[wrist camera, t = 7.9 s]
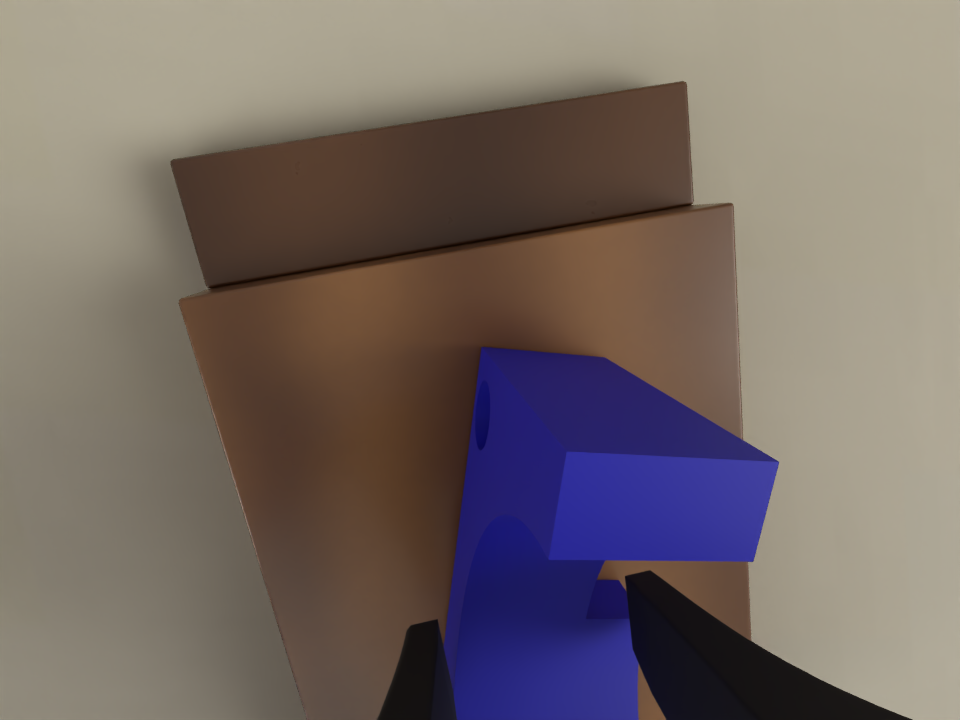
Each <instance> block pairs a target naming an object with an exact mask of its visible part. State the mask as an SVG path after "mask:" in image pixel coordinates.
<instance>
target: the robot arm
mask: <svg viewBox="0 0 960 720" xmlns="http://www.w3.org/2000/svg"><path fill="white" fill-rule="evenodd" d="M625 583H626V592H627V602H628V611H629V620H630V629H631V638H632V648H633V651H634V654H635V656H636V658H637V661H638V663H639V665H640V668H641V670H642V673H643V675H644V677H645V679H646V682H647V684H648V686H649V688H650V691H651V693H652V695H653V697H654V698H655V700H656V702H657V704H658V706H659V707H660V709H661V711H662V713H663V715H664V716H665V718H666V720H912V719H909V718H907V717H904V716H902V715H899V714H897V713H894V712H892V711H889V710H887V709H884V708H882V707H879V706H877V705H875V704H872V703H870V702H868V701H866V700H863V699H861V698H859V697H857V696H854V695H852V694H850V693H848V692H845V691H843V690H841V689H839V688H837V687H834V686H832V685H830V684H828V683H826V682H824V681H822V680H820V679H818V678H816V677H814V676H812V675H810V674H808V673H807V672H805V671H803V670H801V669H799V668H797V667H795V666H793V665H791V664H789V663H787V662H786V661H784V660H782V659H780V658H779V657H777V656H775V655H773V654H772V653H770V652H768V651H767V650H765V649H763V648H762V647H760V646H758V645H757V644H755V643H753V642H752V641H750V640H749V639H747V638H745V637H744V636H742V635H741V634H739V633H738V632H736V631H734V630H733V629H731V628H730V627H729V626H727V625H726V624H724V623H723V622H721V621H720V620H718V619H717V618H715V617H714V616H712V615H711V614H710V613H708V612H707V611H705V610H704V609H702V608H701V607H700V606H698V605H697V604H696V603H694V602H693V601H691V600H690V599H689V598H687V597H686V596H685V595H683V594H682V593H681V592H679V591H678V590H677V589H675V588H674V587H673V586H671V585H670V584H669V583H667V582H666V581H665V580H663V579H662V578H661V577H659V576H658V575H656V574H655V573H654V572H652V571H651V570H648V571H644V572H640V573H635V574H631V575H626V576H625ZM377 720H457V716H456V708H455V700H454V693H453V688H452V683H451V679H450V674H449V670H448V665H447V660H446V656H445V651H444V646H443V642H442V637H441V633H440V628H439V623H438V619H436V620H431V621H427V622H422V623H418V624H414V625H410V627H409V628H408V629H407V631H406V635H405V640H404V644H403V647H402V651H401V655H400V658H399V661H398V664H397V667H396V670H395V673H394V676H393V679H392V682H391V685H390V687H389V690H388V693H387V695H386V698H385V701H384V703H383V706H382V709H381V711H380V713H379V716H378V718H377Z"/></svg>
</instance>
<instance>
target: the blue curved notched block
mask: <svg viewBox="0 0 960 720" xmlns="http://www.w3.org/2000/svg"><path fill="white" fill-rule="evenodd" d="M778 464H779V462H778V461H777V460H775V459H773V458H772V457H770V456H768V455H767V454H765V453H763V452H762V451H760V450H758V449H757V448H755V447H753V446H752V445H750V444H748V443H747V442H745V441H743V440H742V439H740V438H738V437H737V436H735V435H733V434H732V433H730V432H728V431H727V430H725V429H723V428H722V427H720V426H718V425H717V424H715V423H713V422H712V421H710V420H708V419H707V418H705V417H703V416H702V415H700V414H698V413H697V412H695V411H693V410H692V409H690V408H688V407H687V406H685V405H683V404H682V403H680V402H678V401H677V400H675V399H673V398H672V397H670V396H668V395H667V394H665V393H663V392H662V391H660V390H658V389H657V388H655V387H653V386H652V385H650V384H648V383H647V382H645V381H643V380H642V379H640V378H638V377H637V376H635V375H633V374H632V373H630V372H628V371H627V370H625V369H623V368H622V367H620V366H618V365H617V364H615V363H613V362H612V361H610V360H608V359H607V358H605V357H595V356H583V355H572V354H560V353H548V352H537V351H525V350H513V349H502V348H490V347H481V355H480V362H479V370H478V378H477V386H476V394H475V402H474V410H473V418H472V426H471V434H470V442H469V450H468V458H467V466H466V473H465V481H464V489H463V497H462V505H461V513H460V521H459V529H458V537H457V545H456V553H455V561H454V569H453V577H452V585H451V592H450V600H449V608H448V616H447V624H446V632H445V640H444V651H445V656H446V660H447V665H448V670H449V674H450V679H451V683H452V688H453V693H454V700H455V708H456V716H457V720H639V718H638V661H637V658H636V656H635V654H634V651H633V648H632V638H631V629H630V620H629V611H628V602H627V592H626V590H625V589H624V587H623V586H622V584H621V583H620V581H619V580H597V578H598V575H599V573H600V571H601V568H602V566H603V564H604V562H605V560H619V561H735V562H753V561H754V557H755V553H756V549H757V545H758V542H759V538H760V534H761V530H762V526H763V522H764V518H765V515H766V511H767V507H768V503H769V499H770V495H771V491H772V488H773V484H774V480H775V476H776V472H777V468H778Z"/></svg>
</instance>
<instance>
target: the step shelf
mask: <svg viewBox="0 0 960 720" xmlns="http://www.w3.org/2000/svg"><path fill="white" fill-rule="evenodd" d="M171 167H172V171H173V174H174V178H175V181H176V185H177V188H178V191H179V195H180V198H181V202H182V205H183V208H184V212H185V215H186V219H187V222H188V226H189V229H190V232H191V236H192V239H193V243H194V246H195V249H196V253H197V256H198V260H199V263H200V267H201V270H202V273H203V277H204V280H205V284H206V286H207V287H208V288H211V289H208V290H205V291H202V292H199V293H196V294H193V295H190V296H187V297H184V298H181V299H180V300H179V306H180V309H181V312H182V315H183V319H184V322H185V325H186V328H187V332H188V335H189V338H190V341H191V345H192V348H193V351H194V354H195V358H196V361H197V364H198V367H199V371H200V374H201V377H202V380H203V384H204V387H205V390H206V393H207V397H208V400H209V403H210V406H211V410H212V413H213V416H214V419H215V422H216V426H217V429H218V432H219V435H220V439H221V442H222V445H223V448H224V452H225V455H226V458H227V461H228V465H229V468H230V471H231V474H232V478H233V481H234V484H235V487H236V491H237V494H238V497H239V500H240V504H241V507H242V510H243V513H244V517H245V520H246V523H247V526H248V530H249V533H250V536H251V539H252V543H253V546H254V549H255V552H256V556H257V559H258V562H259V565H260V569H261V572H262V575H263V578H264V582H265V585H266V588H267V591H268V595H269V598H270V601H271V604H272V607H273V611H274V614H275V617H276V620H277V624H278V627H279V630H280V633H281V637H282V640H283V643H284V646H285V650H286V653H287V656H288V659H289V663H290V666H291V669H292V672H293V676H294V679H295V682H296V685H297V689H298V692H299V695H300V698H301V702H302V705H303V708H304V711H305V715H306V718H307V720H377V718H378V716H379V713H380V711H381V709H382V706H383V703H384V701H385V698H386V695H387V693H388V690H389V687H390V685H391V682H392V679H393V676H394V673H395V670H396V667H397V664H398V661H399V658H400V655H401V651H402V647H403V644H404V640H405V635H406V631H407V629H408V628H409V627H410V625H414V624H418V623H422V622H427V621H431V620H436V619H438V623H439V628H440V633H441V637H442V642H443V646H444V640H445V632H446V624H447V616H448V608H449V600H450V592H451V585H452V577H453V569H454V561H455V553H456V545H457V537H458V529H459V521H460V513H461V505H462V497H463V489H464V481H465V473H466V466H467V458H468V450H469V442H470V434H471V426H472V418H473V410H474V402H475V394H476V386H477V378H478V370H479V362H480V355H481V347H490V348H502V349H513V350H525V351H537V352H548V353H560V354H572V355H583V356H595V357H605V358H607V359H608V360H610V361H612V362H613V363H615V364H617V365H618V366H620V367H622V368H623V369H625V370H627V371H628V372H630V373H632V374H633V375H635V376H637V377H638V378H640V379H642V380H643V381H645V382H647V383H648V384H650V385H652V386H653V387H655V388H657V389H658V390H660V391H662V392H663V393H665V394H667V395H668V396H670V397H672V398H673V399H675V400H677V401H678V402H680V403H682V404H683V405H685V406H687V407H688V408H690V409H692V410H693V411H695V412H697V413H698V414H700V415H702V416H703V417H705V418H707V419H708V420H710V421H712V422H713V423H715V424H717V425H718V426H720V427H722V428H723V429H725V430H727V431H728V432H730V433H732V434H733V435H735V436H737V437H738V438H740V439H742V440H743V426H742V402H741V377H740V353H739V328H738V304H737V280H736V255H735V231H734V206H733V204H732V203H718V204H702V205H691V204H693V201H694V199H693V182H692V165H691V148H690V131H689V114H688V98H687V84H686V82H684V81H681V82H674V83H668V84H661V85H655V86H648V87H642V88H635V89H629V90H622V91H616V92H609V93H603V94H596V95H590V96H583V97H577V98H570V99H564V100H557V101H551V102H544V103H537V104H531V105H524V106H518V107H511V108H505V109H498V110H492V111H485V112H479V113H472V114H466V115H459V116H453V117H446V118H440V119H433V120H427V121H420V122H414V123H407V124H401V125H394V126H387V127H381V128H374V129H368V130H361V131H355V132H348V133H342V134H335V135H329V136H322V137H316V138H309V139H303V140H296V141H290V142H283V143H277V144H270V145H264V146H257V147H251V148H244V149H237V150H231V151H224V152H218V153H211V154H205V155H198V156H192V157H185V158H179V159H173V160H172V161H171ZM648 570H651V571H652V572H654V573H655V574H656V575H658V576H659V577H661V578H662V579H663V580H665V581H666V582H667V583H669V584H670V585H671V586H673V587H674V588H675V589H677V590H678V591H679V592H681V593H682V594H683V595H685V596H686V597H687V598H689V599H690V600H691V601H693V602H694V603H696V604H697V605H698V606H700V607H701V608H702V609H704V610H705V611H707V612H708V613H710V614H711V615H712V616H714V617H715V618H717V619H718V620H720V621H721V622H723V623H724V624H726V625H727V626H729V627H730V628H731V629H733V630H734V631H736V632H738V633H739V634H741V635H742V636H744V637H745V638H747V639H749V640H750V641H751V622H750V598H749V573H748V562H735V561H619V560H605V562H604V564H603V566H602V568H601V571H600V573H599V575H598V578H597V580H619V581H620V583H621V584H622V586H623V587H624V589H625V590H626V583H625V576H626V575H631V574H635V573H640V572H644V571H648ZM638 718H639V720H666V718H665V716H664V715H663V713H662V711H661V709H660V707H659V706H658V704H657V702H656V700H655V698H654V697H653V695H652V693H651V691H650V688H649V686H648V684H647V682H646V679H645V677H644V675H643V673H642V670H641V668H640V665H639V663H638Z"/></svg>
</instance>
